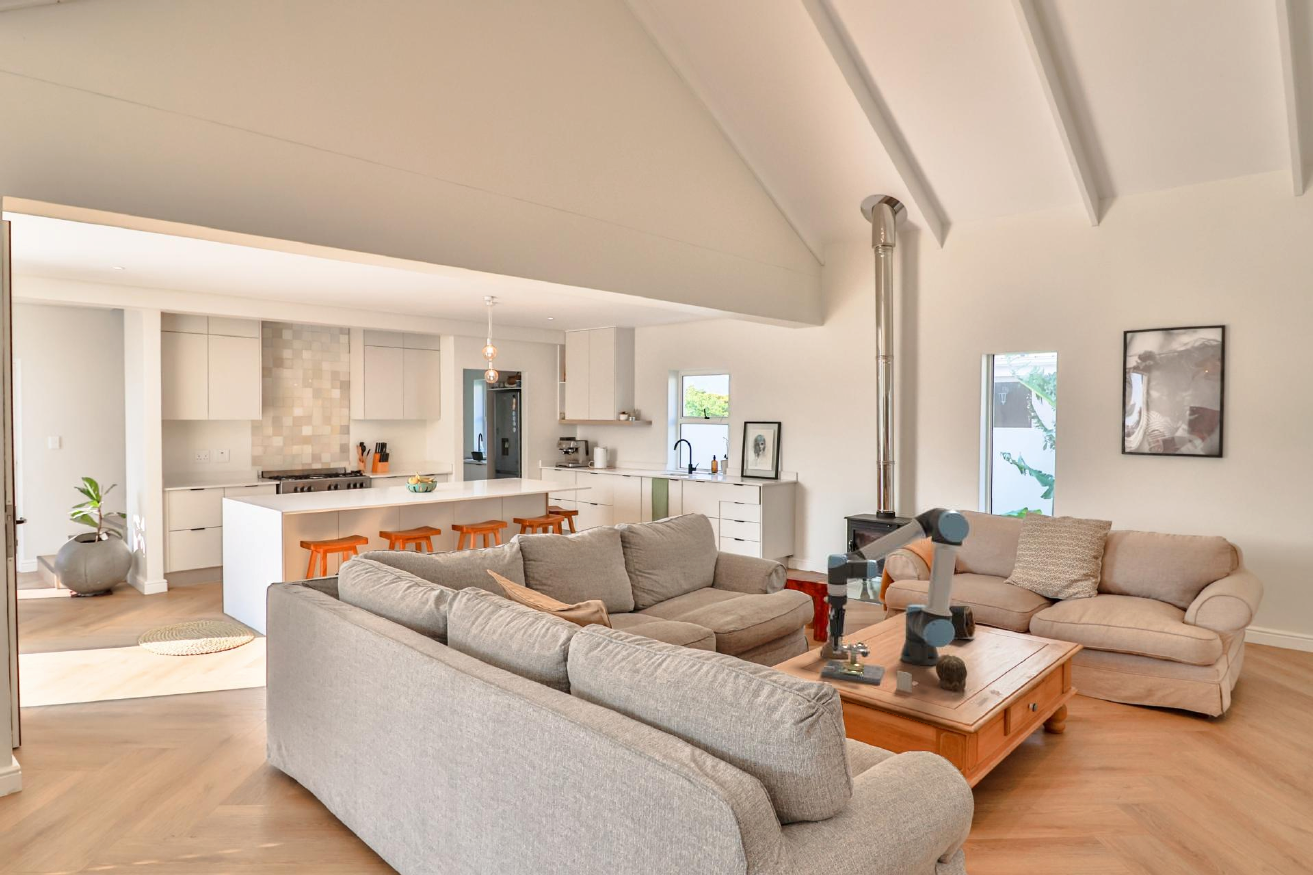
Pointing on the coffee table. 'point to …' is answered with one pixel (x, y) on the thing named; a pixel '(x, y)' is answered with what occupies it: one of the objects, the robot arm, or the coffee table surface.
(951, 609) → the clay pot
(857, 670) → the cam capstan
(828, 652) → the candle holder
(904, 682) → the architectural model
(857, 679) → the stand
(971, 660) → the coffee table surface
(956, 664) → the dark brown rounded lump
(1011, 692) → the coffee table surface
